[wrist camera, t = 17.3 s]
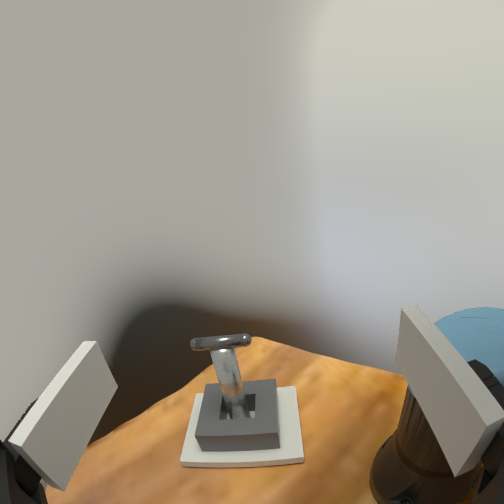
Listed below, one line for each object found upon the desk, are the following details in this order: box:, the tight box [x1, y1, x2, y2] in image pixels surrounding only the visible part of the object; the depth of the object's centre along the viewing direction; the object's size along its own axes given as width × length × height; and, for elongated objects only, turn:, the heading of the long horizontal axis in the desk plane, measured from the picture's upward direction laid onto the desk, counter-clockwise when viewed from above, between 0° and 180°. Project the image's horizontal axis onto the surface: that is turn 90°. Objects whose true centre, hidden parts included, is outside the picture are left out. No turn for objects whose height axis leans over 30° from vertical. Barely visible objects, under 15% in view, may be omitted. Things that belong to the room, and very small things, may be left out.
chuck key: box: [190, 334, 251, 419], centre depth 38 cm, size 8×3×16 cm, turn 88°
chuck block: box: [180, 379, 304, 468], centre depth 40 cm, size 17×15×6 cm
